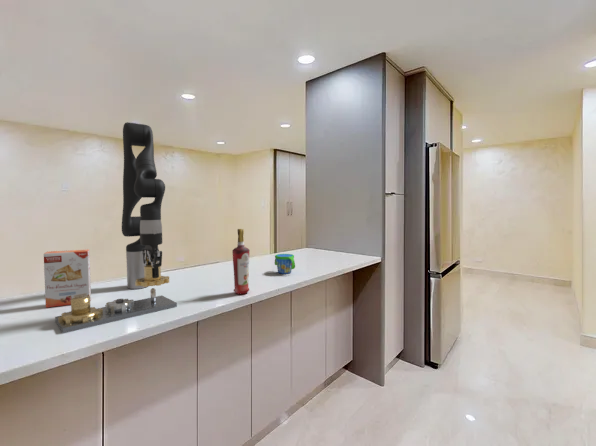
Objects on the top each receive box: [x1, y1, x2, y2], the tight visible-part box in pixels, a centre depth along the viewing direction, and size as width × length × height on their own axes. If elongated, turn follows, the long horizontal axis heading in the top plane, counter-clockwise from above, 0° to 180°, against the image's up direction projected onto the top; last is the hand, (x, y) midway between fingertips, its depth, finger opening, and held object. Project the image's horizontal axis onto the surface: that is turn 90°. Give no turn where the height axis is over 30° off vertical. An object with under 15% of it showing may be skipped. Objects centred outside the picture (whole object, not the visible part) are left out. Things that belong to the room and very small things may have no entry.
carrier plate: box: [54, 287, 178, 334], centre depth 112 cm, size 14×35×8 cm, turn 135°
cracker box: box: [43, 249, 92, 309], centre depth 123 cm, size 14×6×21 cm, turn 117°
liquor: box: [232, 228, 250, 295], centre depth 137 cm, size 7×7×28 cm
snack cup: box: [274, 253, 296, 275], centre depth 178 cm, size 16×10×10 cm
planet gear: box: [135, 265, 170, 288], centre depth 119 cm, size 12×12×6 cm
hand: (152, 276), depth 119 cm, fingers closed on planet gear, 5 cm apart
